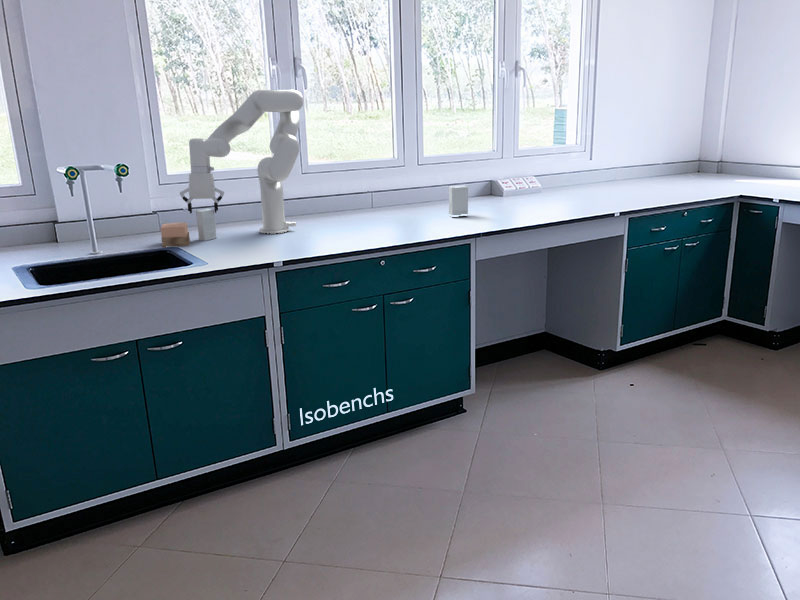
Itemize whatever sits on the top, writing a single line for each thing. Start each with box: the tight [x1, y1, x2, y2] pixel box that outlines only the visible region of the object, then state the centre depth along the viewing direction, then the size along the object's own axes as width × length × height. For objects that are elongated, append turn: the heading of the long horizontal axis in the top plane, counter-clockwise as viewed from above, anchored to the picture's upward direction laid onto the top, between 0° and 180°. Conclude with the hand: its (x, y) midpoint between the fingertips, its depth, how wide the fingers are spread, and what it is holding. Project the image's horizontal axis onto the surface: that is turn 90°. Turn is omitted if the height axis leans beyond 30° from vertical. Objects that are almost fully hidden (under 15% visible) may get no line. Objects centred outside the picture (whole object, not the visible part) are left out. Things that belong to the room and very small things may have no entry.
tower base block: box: [161, 231, 191, 248], centre depth 261 cm, size 10×10×4 cm
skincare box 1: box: [195, 208, 218, 242], centre depth 268 cm, size 6×4×12 cm
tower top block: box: [160, 222, 189, 239], centre depth 260 cm, size 9×9×4 cm
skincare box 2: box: [448, 184, 469, 215], centre depth 315 cm, size 8×6×15 cm
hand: (203, 212), depth 267 cm, fingers open, 9 cm apart
